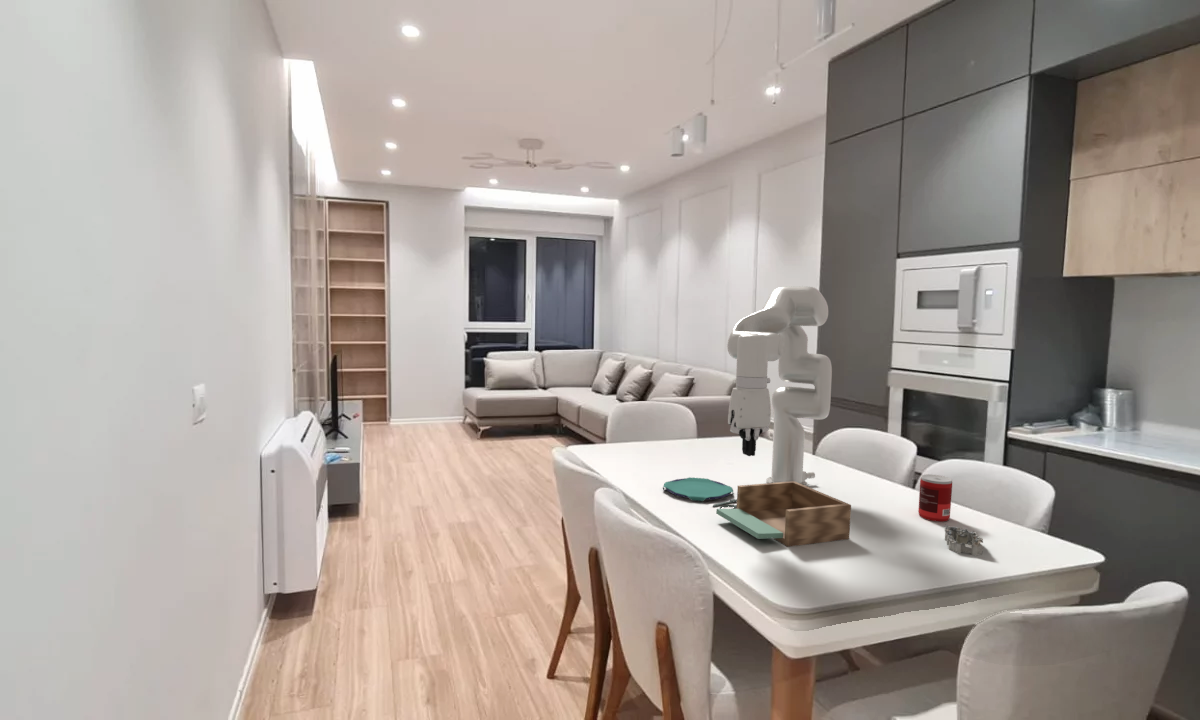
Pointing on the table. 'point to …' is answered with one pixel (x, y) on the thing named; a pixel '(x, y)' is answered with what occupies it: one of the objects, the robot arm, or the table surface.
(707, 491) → the teal flat rounded piece
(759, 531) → the panel
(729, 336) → the robot arm
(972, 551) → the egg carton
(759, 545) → the table surface
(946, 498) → the canned food
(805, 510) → the crate
